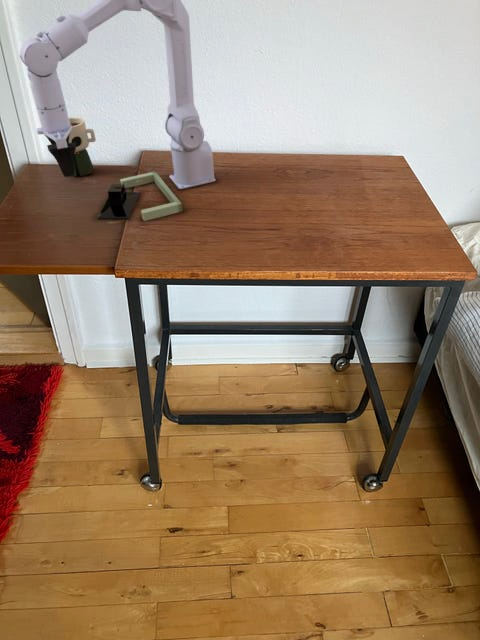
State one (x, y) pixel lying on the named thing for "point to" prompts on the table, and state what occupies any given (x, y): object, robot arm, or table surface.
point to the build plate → (119, 203)
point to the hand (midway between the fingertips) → (67, 168)
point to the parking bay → (166, 208)
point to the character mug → (81, 145)
